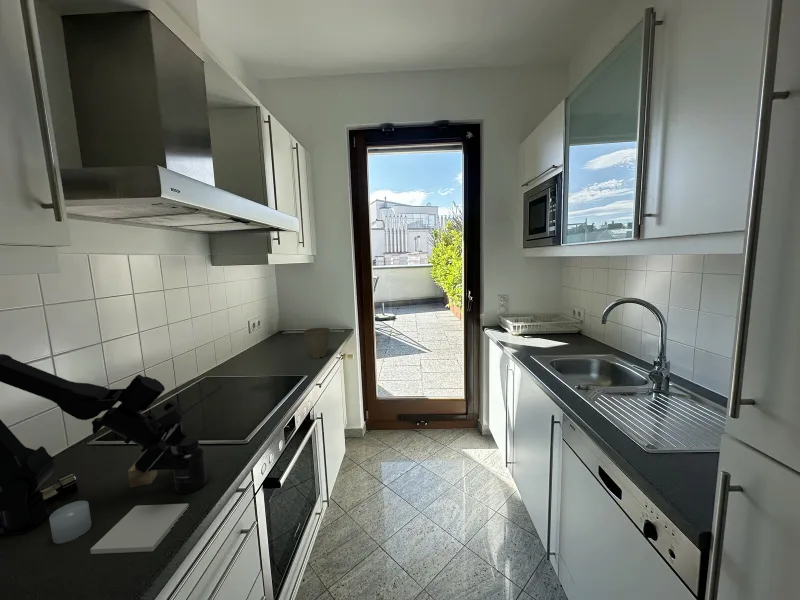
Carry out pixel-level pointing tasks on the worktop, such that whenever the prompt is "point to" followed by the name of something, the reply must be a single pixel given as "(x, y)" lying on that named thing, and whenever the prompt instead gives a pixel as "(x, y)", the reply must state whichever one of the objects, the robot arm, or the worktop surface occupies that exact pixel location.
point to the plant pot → (317, 341)
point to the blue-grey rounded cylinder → (70, 521)
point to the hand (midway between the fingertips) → (191, 457)
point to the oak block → (140, 477)
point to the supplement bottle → (190, 466)
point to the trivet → (140, 529)
